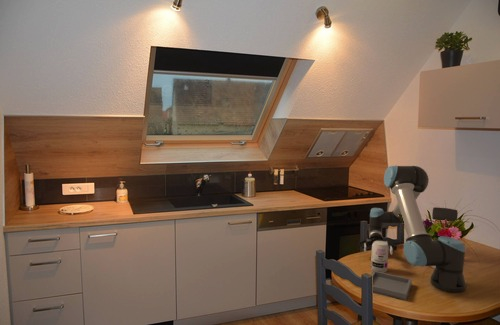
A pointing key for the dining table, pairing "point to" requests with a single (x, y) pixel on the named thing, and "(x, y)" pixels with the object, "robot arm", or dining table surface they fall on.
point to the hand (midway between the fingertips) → (378, 251)
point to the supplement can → (379, 256)
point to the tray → (391, 285)
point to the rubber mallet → (444, 214)
